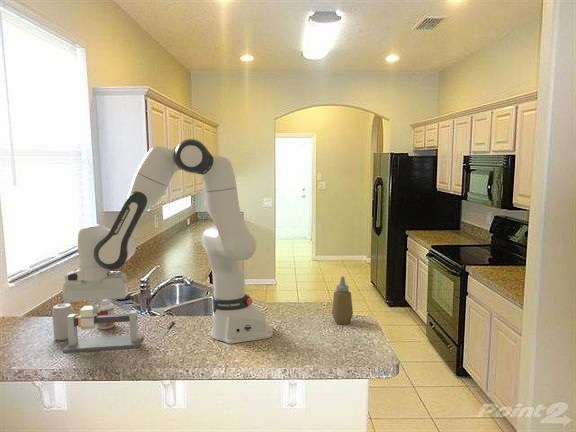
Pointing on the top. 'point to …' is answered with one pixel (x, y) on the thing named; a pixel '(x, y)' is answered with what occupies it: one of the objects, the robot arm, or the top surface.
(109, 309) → the pill bottle
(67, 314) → the beverage can
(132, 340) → the grey slider rail base
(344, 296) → the squeeze bottle
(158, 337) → the chef's knife
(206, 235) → the robot arm
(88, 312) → the cream sliding block
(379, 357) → the top surface
